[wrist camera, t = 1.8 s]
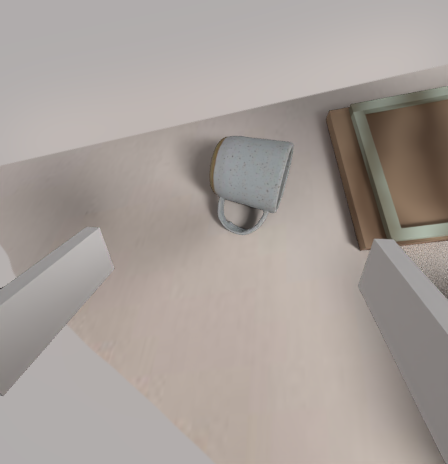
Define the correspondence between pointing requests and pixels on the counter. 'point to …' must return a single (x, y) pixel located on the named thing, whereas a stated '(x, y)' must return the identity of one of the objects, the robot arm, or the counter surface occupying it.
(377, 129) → the board
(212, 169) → the ceramic mug
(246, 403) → the counter surface
